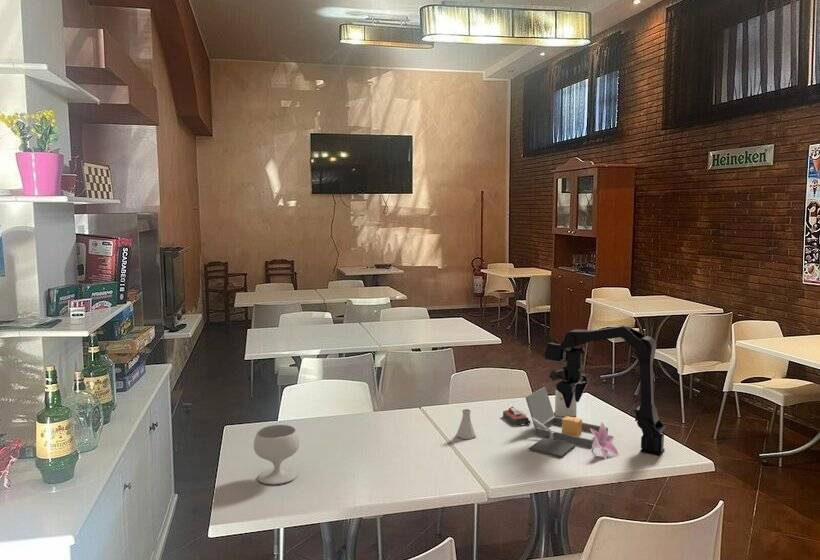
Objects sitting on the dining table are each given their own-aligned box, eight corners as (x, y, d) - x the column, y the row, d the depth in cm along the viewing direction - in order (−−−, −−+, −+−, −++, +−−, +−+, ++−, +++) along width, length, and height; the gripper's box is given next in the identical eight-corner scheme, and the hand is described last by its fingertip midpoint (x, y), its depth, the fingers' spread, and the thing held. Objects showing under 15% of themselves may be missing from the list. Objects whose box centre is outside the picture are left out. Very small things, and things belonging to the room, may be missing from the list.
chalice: (258, 468, 196) (257, 424, 195) (302, 467, 197) (301, 422, 196) (250, 487, 182) (249, 439, 181) (297, 486, 183) (296, 438, 182)
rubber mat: (575, 447, 214) (575, 444, 213) (561, 458, 204) (561, 455, 204) (543, 440, 221) (543, 437, 221) (529, 450, 211) (529, 447, 211)
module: (581, 434, 227) (582, 419, 226) (577, 438, 223) (577, 422, 223) (566, 431, 230) (566, 416, 230) (561, 434, 227) (562, 419, 226)
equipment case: (607, 434, 227) (608, 398, 226) (590, 448, 213) (591, 410, 211) (543, 420, 242) (543, 386, 241) (523, 433, 228) (523, 397, 227)
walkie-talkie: (535, 425, 237) (514, 410, 257) (535, 414, 237) (514, 400, 256) (515, 427, 235) (494, 412, 254) (515, 416, 235) (495, 401, 254)
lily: (585, 463, 203) (599, 442, 199) (573, 438, 213) (587, 418, 209) (615, 470, 206) (630, 450, 202) (602, 445, 216) (616, 425, 212)
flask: (479, 438, 223) (479, 411, 222) (461, 440, 220) (462, 414, 219) (470, 431, 230) (470, 406, 229) (453, 434, 227) (453, 408, 226)
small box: (574, 412, 252) (574, 387, 251) (576, 416, 247) (577, 391, 246) (554, 411, 253) (555, 387, 252) (556, 416, 248) (557, 391, 247)
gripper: (562, 356, 236) (561, 395, 238) (542, 365, 221) (542, 407, 223) (590, 360, 230) (589, 400, 231) (572, 370, 215) (571, 412, 216)
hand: (572, 404), depth 226 cm, fingers open, 9 cm apart
